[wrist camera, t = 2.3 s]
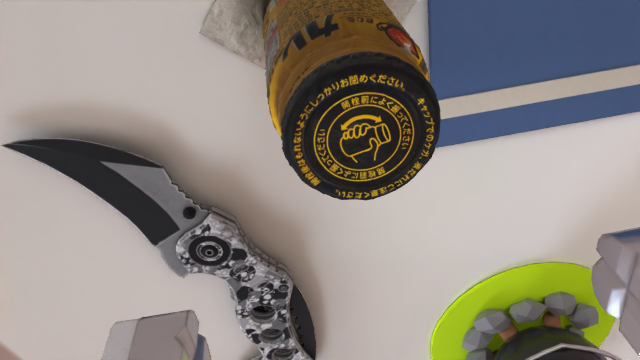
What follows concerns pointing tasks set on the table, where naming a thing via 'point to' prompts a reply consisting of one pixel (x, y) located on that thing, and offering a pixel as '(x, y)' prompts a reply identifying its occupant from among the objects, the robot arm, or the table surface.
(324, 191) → the condiment
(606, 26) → the blue board
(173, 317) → the robot arm
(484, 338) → the toy cauldron
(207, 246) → the knife
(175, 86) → the table surface
